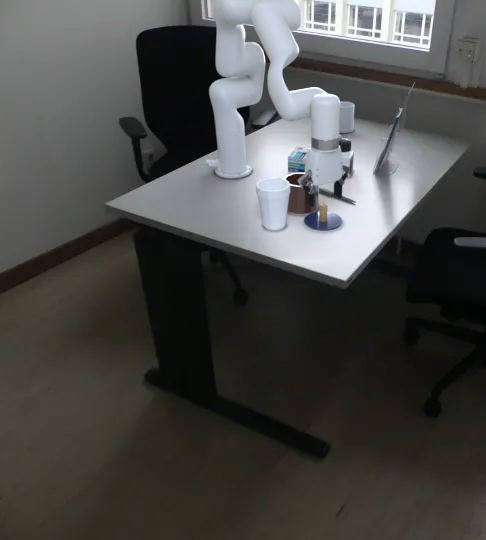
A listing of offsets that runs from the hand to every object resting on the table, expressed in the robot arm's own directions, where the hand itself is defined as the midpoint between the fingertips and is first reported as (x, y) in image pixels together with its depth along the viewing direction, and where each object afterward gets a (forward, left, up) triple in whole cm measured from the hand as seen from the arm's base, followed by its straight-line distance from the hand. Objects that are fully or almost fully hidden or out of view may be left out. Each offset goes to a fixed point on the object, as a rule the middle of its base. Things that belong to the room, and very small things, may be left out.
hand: (324, 200), depth 152 cm
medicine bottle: (+7, +38, -8) cm, 40 cm away
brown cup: (-7, +10, -7) cm, 14 cm away
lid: (0, 0, -7) cm, 7 cm away
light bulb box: (-7, +29, -8) cm, 31 cm away
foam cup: (-14, -1, -8) cm, 16 cm away
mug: (+9, +86, -8) cm, 87 cm away
